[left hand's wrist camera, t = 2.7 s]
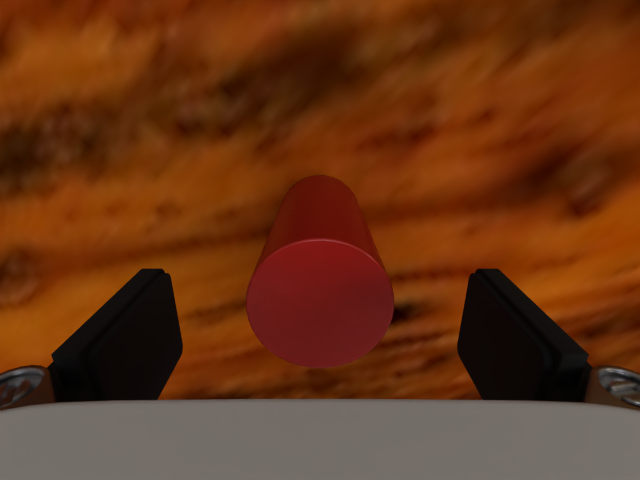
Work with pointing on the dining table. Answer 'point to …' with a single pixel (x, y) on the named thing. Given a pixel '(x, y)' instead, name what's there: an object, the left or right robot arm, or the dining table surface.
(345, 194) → the tin
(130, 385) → the left robot arm
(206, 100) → the dining table surface
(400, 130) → the dining table surface
